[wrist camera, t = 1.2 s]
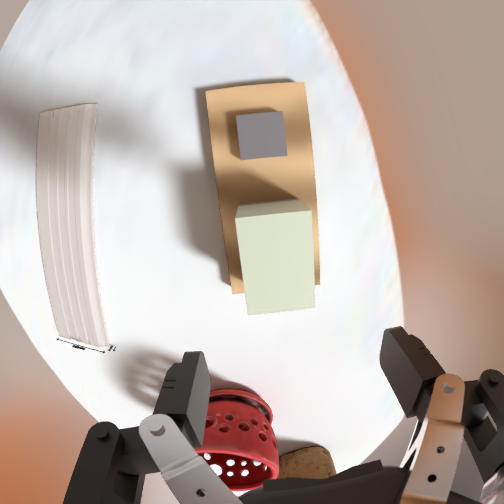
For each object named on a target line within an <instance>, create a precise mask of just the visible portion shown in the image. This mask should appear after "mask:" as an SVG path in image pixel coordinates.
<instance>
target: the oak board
mask: <svg viewBox="0 0 504 504" xmlns="http://www.w3.org/2000/svg"><path fill="white" fill-rule="evenodd" d="M205 92H206V101H207V110H208V119H209V127H210V136H211V144H212V152H213V160H214V168H215V176H216V184H217V191H218V199H219V206H220V213H221V220H222V227H223V234H224V241H225V248H226V255H227V261H228V268H229V274H230V281H231V287H232V294H239V293H245V290H244V283H243V275H242V268H241V260H240V253H239V245H238V238H237V230H236V223H235V216H236V212H237V208H238V204H246V203H255V202H265V201H274V200H285V199H295V198H298V199H299V200H301V201H302V202H303V203H304V204H305V205H306V206H307V207H308V208H309V209H311V210H312V227H313V248H314V277H315V285H320V263H319V234H318V214H317V198H316V184H315V171H314V160H313V149H312V140H311V130H310V122H309V113H308V105H307V98H306V91H305V84H304V82H287V83H270V84H258V85H247V86H238V87H230V88H223V89H216V90H210V91H205ZM279 111H283V119H284V127H285V136H286V145H287V154H288V156H279V157H268V158H258V159H249V160H241V155H240V147H239V139H238V130H237V122H236V116H237V115H246V114H255V113H266V112H279Z"/></svg>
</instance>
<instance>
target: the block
mask: <svg viewBox="0 0 504 504" xmlns="http://www.w3.org/2000/svg"><path fill="white" fill-rule="evenodd" d="M333 475H336V470H335V467H334V463H333V460H332V458H331V455H330V452H329V451H328V450H327V449H324V448H322V447H309V448H304V449H300V450H297V451H296V452H291V453H288V454H285V455H283V456H282V457H280V458H279V475H278V477H277V478H276V479H281V478H291V477H296V478H311V479H326V478H329V477H331V476H333Z"/></svg>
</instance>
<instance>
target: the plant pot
mask: <svg viewBox="0 0 504 504" xmlns="http://www.w3.org/2000/svg"><path fill="white" fill-rule="evenodd" d="M272 420H273V414H272V411H271V409H270V407H269V406H268V404H267V403H266V402H265V401H264V400H262V399H261V398H259V397H258V396H256V395H254V394H252V393H249V392H245V391H241V390H233V389H224V390H216V391H212V392H210V397H209V403H208V410H207V417H206V423H205V430H204V437H203V444H202V447H194V450H195V451H196V453H197V454H198V455H200V456H201V457H202V458H203V459H204V460H205V461H206V463H207V464H208V465H209V466H210V465H212V464H216V465H219V466H220V467H221V468H222V474H221V475H219V476H218V477H219V478H220V479H221V480H222V481H223V482H224V484H225V485H226V486H227V487H228V488H229V489H230V490H231V491H246V490H253V489H256V488H259V487H263V480H269V479H276V478H277V477H278V475H279V456H278V448H277V442H276V438H275V434H274V431H273V429H272V427H271V423H272ZM205 453H208V454H210V456H211V458H210V460H206V459H205V458H204V454H205ZM230 459H232V460H234V461H235V464H234V465H233V466H228V465H227V464H226V462H227V460H230ZM253 460H257V461H260V462H262V463H261V464H260V465H259V466H255V465H254V463H253ZM243 461H246V462H247V464H246V465H245V466H242V465H241V463H242V462H243ZM266 466H267V469H266V471H265V467H266ZM244 470H248V471H249V474H248V475H247V476H242V475H241V473H242V471H244ZM230 471H231V472H233V473H234V475H233V476H228V475H227V472H230Z"/></svg>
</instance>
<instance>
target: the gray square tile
mask: <svg viewBox="0 0 504 504" xmlns="http://www.w3.org/2000/svg"><path fill="white" fill-rule="evenodd" d="M236 122H237V130H238V139H239V147H240V155H241V160H249V159H258V158H268V157H279V156H288V154H287V145H286V136H285V127H284V119H283V111H279V112H266V113H255V114H246V115H237V116H236Z"/></svg>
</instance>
